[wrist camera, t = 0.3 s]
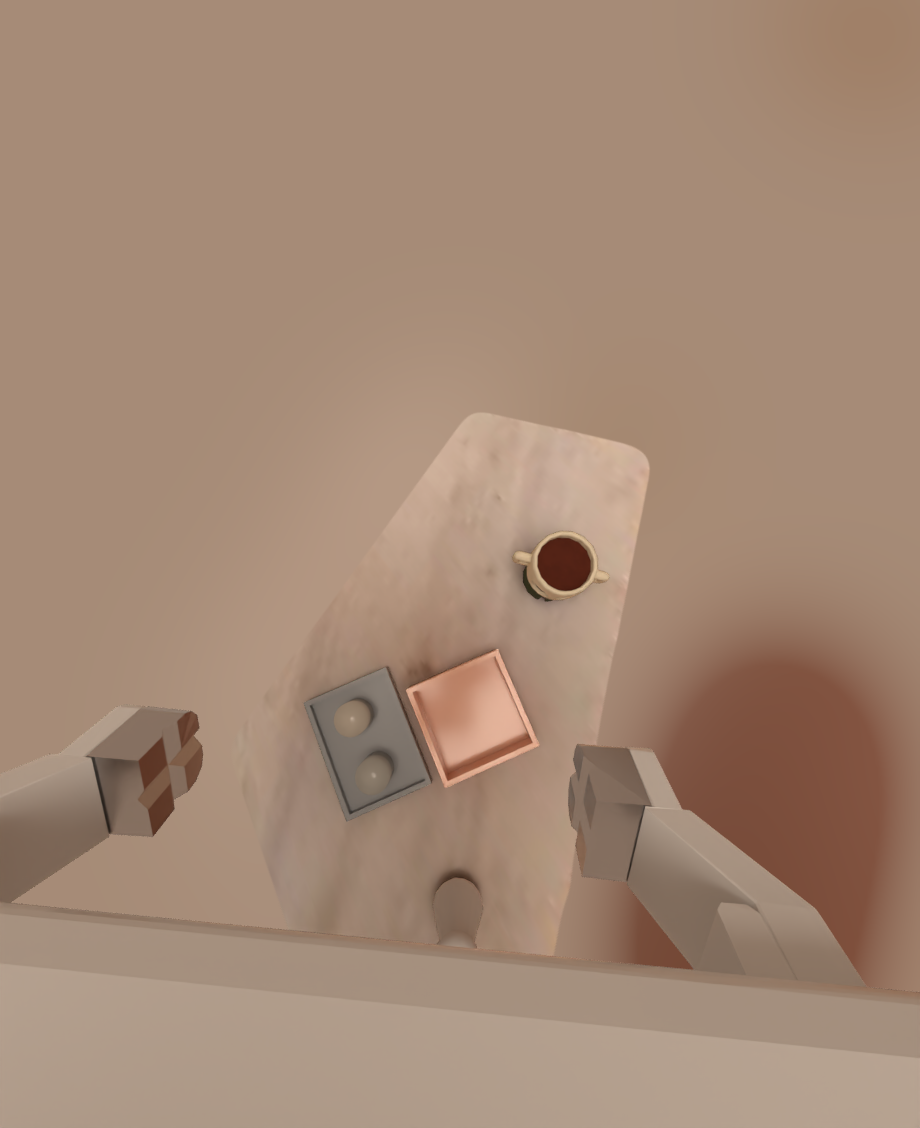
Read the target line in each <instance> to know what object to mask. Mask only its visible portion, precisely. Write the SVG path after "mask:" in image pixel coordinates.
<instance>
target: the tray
mask: <svg viewBox="0 0 920 1128" xmlns="http://www.w3.org/2000/svg"><path fill="white" fill-rule="evenodd" d="M358 698H359V699H364V700H366V701H368V702H369V703H370V704H371V706H372V708H373V712H374V717H373V720H372V723H371V724H370V725H369V726H368V727H367V728H366V729H365V730H364V731H363V732H362V733H361V734H359V735H357V736H355V737H345V736H343V735H341V734H340V733H339V732H338V731H337V730H336V728H335V725H334V716H335V713H336V711H337V709H338V708H339V707H340V706H342V705H343V704H345V703H347V702H349V701H351V700H353V699H358ZM304 706H305V708H306V711H307V714H308V717H309V719H310V722H311V725H312V728H313V730H314V733H315V736H316V739H317V741H318V744H319V747H320V750H321V752H322V755H323V758H324V761H325V763H326V766H327V769H328V772H329V774H330V777H331V780H332V783H333V786H334V788H335V791H336V794H337V797H338V799H339V802H340V805H341V808H342V810H343V813H344V816H345V819H346V821H349V820H351V819H354V818H356V817H358V816H360V815H362V814H365V813H367V812H369V811H371V810H374V809H376V808H378V807H380V806H382V805H385V804H387V803H389V802H391V801H394V800H396V799H398V798H400V797H403V796H405V795H407V794H409V793H411V792H414V791H416V790H418V789H420V788H423V787H425V786H427V785H429V784H431V783H432V778H431V776H430V773H429V770H428V768H427V765H426V763H425V760H424V758H423V755H422V753H421V750H420V748H419V745H418V743H417V740H416V738H415V735H414V733H413V730H412V727H411V725H410V722H409V720H408V717H407V715H406V712H405V710H404V707H403V705H402V702H401V700H400V697H399V695H398V692H397V690H396V687H395V684H394V682H393V679H392V677H391V674H390V672H389V669H388V667H385V668H383V669H380V670H378V671H376V672H373V673H371V674H369V675H366V676H364V677H362V678H360V679H357V680H355V681H353V682H350V683H348V684H346V685H343V686H341V687H339V688H336V689H334V690H332V691H330V692H327V693H325V694H323V695H320V696H318V697H316V698H313V699H311V700H309V701H306V702H304ZM376 751H382V752H385V753H387V754H388V755H389V756H390V757H391V758H392V760H393V763H394V772H393V775H392V777H391V779H390V781H389V783H388V784H387V786H386V788H385V789H384V790H383V791H382V792H381V793H379V794H376V795H367V794H365V793H363V792H361V791H360V790H359V788H358V787H357V785H356V782H355V773H356V770H357V768H358V767H359V765H360V764H361V763H362V762H363V761H364V759H365V758H366V757H367V756H368V755H369V754H371V753H372V752H376Z"/></svg>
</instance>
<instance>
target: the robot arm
mask: <svg viewBox="0 0 920 1128" xmlns="http://www.w3.org/2000/svg"><path fill="white" fill-rule="evenodd" d="M198 729H199V722H198V717H197V715H196V714H195V713H194V712H192V711H186V710H176V709H167V708H157V707H149V706H148V707H145V706H135V705H122V706H117V707H116V708H115V709H114V710H112V711H111V712H110V713H109V714H107V715H106V716H105V717H104V718H102V719H101V720H100V721H99V722H98V723H96V724H95V725H94V726H92V727H91V728H90V729H89V730H88V731H86V732H85V733H84V734H83V735H81V736H80V737H79V738H78V739H76V740H75V741H74V742H73V743H72V744H70V745H69V746H68V747H66V748H65V749H64V750H63V751H62V752H60V753H59V754H58V755H55V754H49V755H47V756H44V757H41V758H39V759H36V760H34V761H32V762H29V763H26V764H24V765H21V766H19V767H16V768H14V769H11V770H9V771H6V772H4V773H1V774H0V1128H920V992H912V991H902V990H892V989H882V988H871V987H867V986H866V985H865V983H864V982H863V981H862V979H861V977H860V976H859V974H858V973H857V971H856V970H855V968H854V967H853V965H852V963H851V962H850V960H849V959H848V957H847V956H846V954H845V953H844V951H843V950H842V948H841V947H840V945H839V944H838V942H837V941H836V939H835V937H834V936H833V934H832V933H831V931H830V930H829V928H828V927H827V925H826V924H825V922H824V921H823V919H822V917H821V916H820V914H819V913H818V911H817V910H816V909H815V908H814V907H812V906H811V905H810V904H809V903H807V902H806V901H805V900H803V899H802V898H801V897H800V896H798V895H797V894H796V893H795V892H793V891H792V890H791V889H789V888H788V887H787V886H786V885H784V884H783V883H782V882H781V881H779V880H778V879H777V878H775V877H774V876H773V875H771V874H770V873H769V872H768V871H766V870H765V869H764V868H763V867H761V866H760V865H759V864H758V863H756V862H755V861H754V860H753V859H751V858H750V857H749V856H747V855H746V854H745V853H744V852H742V851H741V850H739V849H738V848H737V847H736V846H735V845H733V844H732V843H731V842H729V841H728V840H727V839H726V838H724V837H723V836H722V835H721V834H719V833H718V832H717V831H716V830H714V829H713V828H712V827H710V826H709V825H708V824H707V823H705V822H704V821H703V820H701V819H700V818H699V817H698V816H696V815H695V814H694V813H693V812H691V811H690V810H682V808H681V806H680V804H679V802H678V800H677V798H676V796H675V794H674V792H673V790H672V788H671V786H670V784H669V782H668V780H667V778H666V776H665V774H664V772H663V770H662V767H661V765H660V764H659V761H658V759H657V757H656V755H655V753H654V751H652V750H651V749H649V748H636V747H625V748H623V747H611V746H598V745H585V744H577V746H576V749H575V753H574V758H573V761H574V765H575V769H576V772H575V773H574V774H573V775H572V776H571V777H570V784H569V797H568V806H569V815H570V821H571V826H572V827H573V828H574V829H575V830H576V831H577V832H578V833H577V839H576V845H575V846H576V851H577V855H578V860H579V865H580V870H581V874H582V877H589V878H597V879H606V880H613V881H621V882H627V885H628V886H629V888H630V889H631V890H632V892H633V893H634V894H635V895H636V897H637V898H638V899H639V901H640V902H641V903H642V904H643V906H644V907H645V908H646V909H647V911H648V912H649V913H650V914H651V916H652V917H653V918H654V919H655V921H656V922H657V923H658V924H659V926H660V927H661V928H662V930H663V931H664V932H665V933H666V934H667V936H668V937H669V938H670V939H671V941H672V942H673V943H674V945H675V946H676V947H677V948H678V950H679V951H680V952H681V953H682V955H683V956H684V957H685V959H686V960H687V961H688V962H689V964H690V965H691V966H692V967H693V969H694V970H688V969H678V968H668V967H658V966H648V965H638V964H628V963H617V962H607V961H596V960H587V959H576V958H566V957H556V956H546V955H536V954H526V953H516V952H506V951H496V950H485V949H475V948H465V947H455V946H445V945H435V944H424V943H414V942H404V941H394V940H384V939H374V938H363V937H353V936H343V935H333V934H323V933H313V932H303V931H292V930H282V929H272V928H262V927H252V926H242V925H231V924H220V923H210V922H201V921H190V920H180V919H169V918H160V917H149V916H139V915H129V914H118V913H108V912H98V911H88V910H77V909H68V908H57V907H47V906H37V905H27V904H17V903H11V902H12V901H14V900H15V899H16V898H18V897H20V896H21V895H22V894H24V893H26V892H27V891H29V890H30V889H32V888H33V887H35V886H36V885H38V884H39V883H41V882H42V881H43V880H45V879H47V878H48V877H50V876H51V875H53V874H54V873H55V872H57V871H58V870H60V869H61V868H63V867H64V866H66V865H67V864H69V863H70V862H72V861H73V860H75V859H76V858H78V857H79V856H81V855H82V854H84V853H85V852H87V851H88V850H90V849H91V848H93V847H94V846H96V845H97V844H99V843H100V842H102V841H103V840H105V839H106V838H108V837H109V834H115V835H116V834H117V835H131V836H149V837H153V836H154V835H155V834H156V832H157V831H158V830H159V828H160V827H161V826H162V825H163V823H164V822H165V821H166V819H167V818H168V817H169V816H170V814H171V813H172V812H173V810H174V799H176V798H178V797H180V796H181V795H183V794H185V793H187V792H188V791H189V790H190V788H191V787H192V786H193V784H194V783H195V782H196V780H197V777H198V775H199V772H200V770H201V767H202V761H203V750H202V745H201V744H200V742H199V741H198V740H197V739H196V738H195V737H194V735H195V733H196V732H197V731H198Z"/></svg>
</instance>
